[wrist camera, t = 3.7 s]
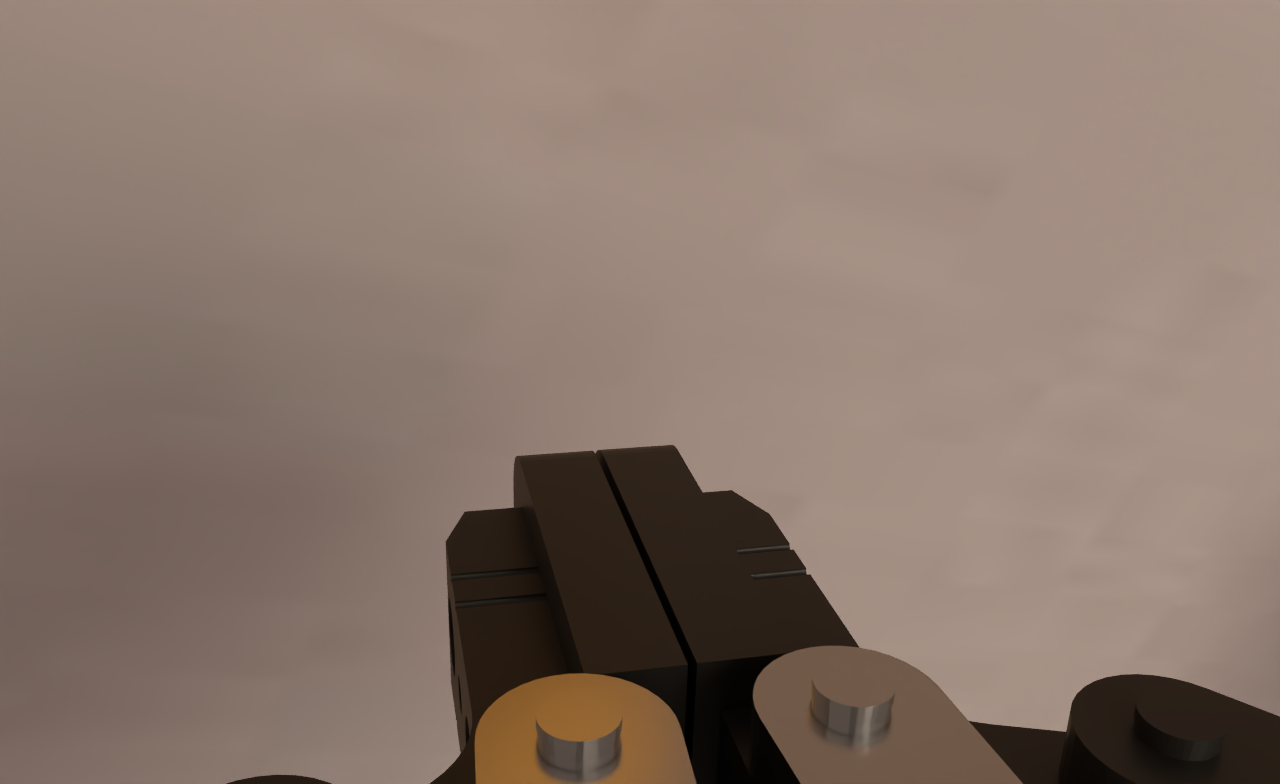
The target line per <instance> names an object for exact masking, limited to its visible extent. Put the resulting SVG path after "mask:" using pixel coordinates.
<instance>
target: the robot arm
mask: <svg viewBox="0 0 1280 784" xmlns="http://www.w3.org/2000/svg"><path fill="white" fill-rule="evenodd" d="M446 559H447V585H448V611H449V637H450V663H451V684H452V692H453V699H454V707H455V714H456V720H457V729H458V737H459V745H460V751H461V754H460V756H459V757H458V758H457V760H456V761H455V762H454V763H453V764H452V765H451V766H450V767H449V768H448V769H447V770H446V771H445V772H444V773H443V774H442V775H440V776H439V777H438V778H436V779H435V780H434V781H432V782H431V783H430V784H1280V717H1279V716H1277V715H1274V714H1271V713H1269V712H1266V711H1264V710H1261V709H1258V708H1256V707H1253V706H1251V705H1248V704H1245V703H1243V702H1240V701H1238V700H1235V699H1232V698H1230V697H1227V696H1225V695H1222V694H1219V693H1217V692H1214V691H1212V690H1209V689H1206V688H1204V687H1201V686H1198V685H1195V684H1192V683H1189V682H1185V681H1181V680H1177V679H1173V678H1167V677H1161V676H1154V675H1140V674H1132V675H1118V676H1112V677H1106V678H1103V679H1100V680H1097V681H1094V682H1092V683H1091V684H1089V685H1087V686H1085V687H1084V688H1083V689H1082V690H1081V691H1080V692H1078V693H1077V695H1076V696H1075V698H1074V700H1073V702H1072V706H1071V711H1070V716H1069V721H1068V726H1067V731H1066V732H1061V731H1051V730H1041V729H1031V728H1021V727H1011V726H1002V725H992V724H985V723H978V722H972V721H968V720H967V719H966V717H965V716H964V715H963V714H962V713H961V712H960V711H959V709H958V708H957V707H956V706H955V705H954V704H953V702H952V701H951V700H950V699H949V698H948V697H947V696H946V694H945V693H944V692H943V691H942V690H941V689H940V687H939V686H938V685H937V684H936V683H934V682H933V681H932V680H931V679H930V678H929V677H928V676H927V675H925V674H924V673H923V672H921V671H920V670H918V669H917V668H915V667H913V666H911V665H910V664H908V663H906V662H904V661H902V660H899V659H897V658H895V657H892V656H890V655H887V654H883V653H880V652H877V651H873V650H868V649H863V648H859V646H858V645H857V643H856V642H855V640H854V639H853V637H852V636H851V634H850V633H849V631H848V630H847V628H846V627H845V625H844V624H843V622H842V621H841V619H840V618H839V616H838V615H837V613H836V612H835V611H834V609H833V608H832V606H831V605H830V603H829V602H828V600H827V599H826V597H825V596H824V594H823V593H822V591H821V590H820V588H819V587H818V585H817V584H816V582H815V581H814V579H813V578H812V576H811V575H807V574H806V567H805V566H804V565H803V563H802V562H801V560H800V559H799V557H798V556H797V554H796V553H795V551H794V550H790V546H789V542H788V541H787V539H786V538H785V536H784V535H783V533H782V532H781V530H780V529H779V527H778V526H777V524H776V523H775V521H774V520H773V518H772V517H771V516H770V514H769V513H767V512H765V511H764V510H762V509H761V508H759V507H757V506H756V505H754V504H753V503H751V502H749V501H748V500H746V499H745V498H743V497H741V496H740V495H738V494H737V493H735V492H733V491H732V490H730V491H718V492H705V493H703V492H702V491H701V489H700V487H699V486H698V484H697V482H696V481H695V479H694V477H693V475H692V474H691V472H690V470H689V469H688V467H687V465H686V464H685V462H684V460H683V458H682V457H681V455H680V453H679V452H678V450H677V449H676V447H675V446H673V445H665V446H651V447H636V448H622V449H608V450H598V451H597V452H596V454H595V452H593V451H583V452H568V453H554V454H540V455H526V456H516V458H515V463H514V508H506V509H493V510H481V511H468V512H464V514H463V515H462V517H461V518H460V520H459V522H458V523H457V525H456V526H455V528H454V530H453V531H452V533H451V534H450V536H449V537H448V539H447V541H446ZM227 784H331V783H328V782H325V781H322V780H318V779H315V778H310V777H303V776H296V775H270V776H258V777H252V778H247V779H242V780H237V781H234V782H231V783H227Z"/></svg>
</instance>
